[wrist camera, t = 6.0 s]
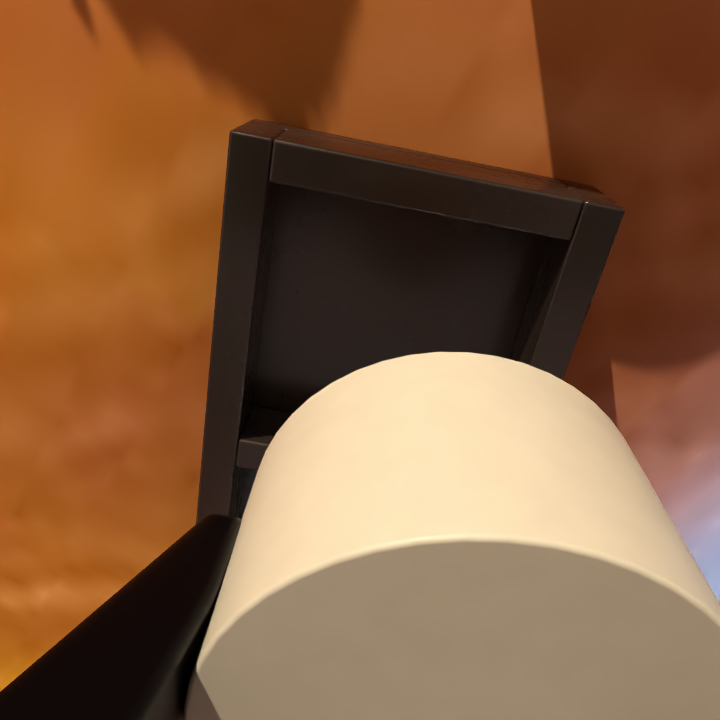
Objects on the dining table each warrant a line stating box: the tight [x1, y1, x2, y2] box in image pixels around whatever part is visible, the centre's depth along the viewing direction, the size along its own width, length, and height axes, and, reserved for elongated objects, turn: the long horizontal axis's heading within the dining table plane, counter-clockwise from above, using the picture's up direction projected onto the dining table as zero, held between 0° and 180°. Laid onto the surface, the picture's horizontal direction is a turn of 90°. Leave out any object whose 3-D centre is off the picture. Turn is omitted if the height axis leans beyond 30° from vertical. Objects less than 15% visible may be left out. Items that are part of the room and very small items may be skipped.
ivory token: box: [184, 352, 720, 720], centre depth 7 cm, size 5×5×3 cm
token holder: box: [196, 119, 625, 524], centre depth 18 cm, size 8×16×2 cm, turn 169°
